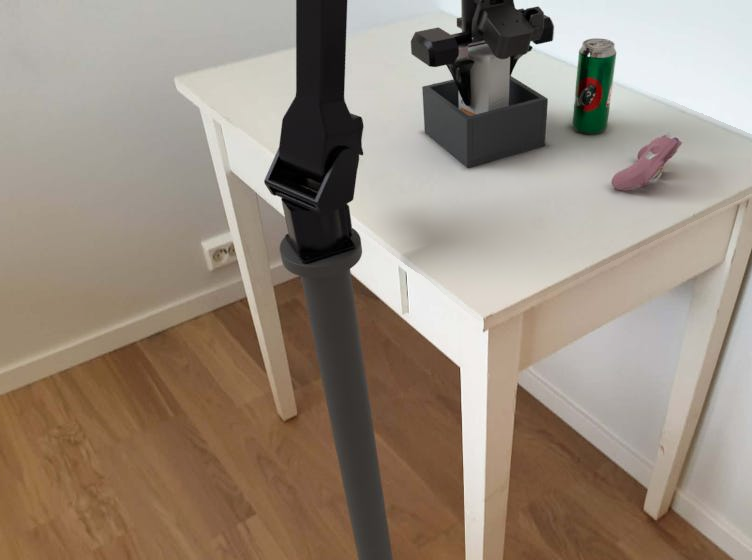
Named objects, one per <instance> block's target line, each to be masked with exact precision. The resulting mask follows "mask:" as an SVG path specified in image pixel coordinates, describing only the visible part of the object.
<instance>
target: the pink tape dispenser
mask: <svg viewBox="0 0 752 560" xmlns="http://www.w3.org/2000/svg"><path fill="white" fill-rule="evenodd" d="M682 144H683V142H682V141H681V140H680V139H679V138H678V137H675V135H670V134H669V132H667V133H666V134H663V135H660V137H657V138H654V139H653V140H651V141H650V142H649V143H648V144H646V145H644V146H643V147H641V148H640V149H639V150H638V152H637V156H636V157H637V161H636V162H635V163H633V164H632V165H630V166H627V167H626V168H624V169H622V170H620V171H618V172H616V173H615V174H614V175H613V176H612V178H611V186H612V188H613V189H615V190H617V191H629V190H633V189H635V188H638V187H640V186H641V187H642V188H645V186H646V185H647V184H649V182H650V180H653V179H654V180H655V181H656V180H658V179H660V178H661V176H662V174H663V171H664V169H663V167H664V166H665V164H666V163H667V162H668V161H669V160H670V159H673V157H674V156H675V155H676V153H678V150H679V148H680V147H681V145H682Z"/></svg>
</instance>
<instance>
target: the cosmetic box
mask: <svg viewBox="0 0 752 560" xmlns="http://www.w3.org/2000/svg"><path fill="white" fill-rule="evenodd" d="M468 58H470V59H472V60H473V61H474V64H473V66H472V68H471V70H470V78H471V103H470V106H466V105H465V104H464V102H463V100H462V98H461V95H460V93H459V91H458V93H459V109H460V110H461V111H462V112H464V113H465V114H467V115H468V116H472V115H476V114H480V113H484V112H488V111H492V110H495V109H499V108H503V107H507V106H509V78H510V57H509V58H507V59H499V58H497V57H495V56H494V54H493V52H492V50H491V49H490V47H489V46H488V45H487V44H483V45H478V46H474V47H469V48H468Z"/></svg>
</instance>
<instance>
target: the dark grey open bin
mask: <svg viewBox="0 0 752 560" xmlns="http://www.w3.org/2000/svg"><path fill="white" fill-rule="evenodd" d="M421 89H422V92H421V93H422V107H423V108H422V110H423V129H424V134H426V135H427V136H428V137H430V138H431V139H432V140H433V141H434V142H435V143H436V144H438V145H439V146H440V147H441V148H442V149H444V150H445V151H446V152H447V153H449V154H450V155H451V156H452V157H453V158H454V159H456V160H457V161H458V162H459V163H461V165H463V166H464V167H465V168H467V169H468V168H472V167H473V168H474V167H476V166H479V165H483V164H487V163H490V162H494V161H496V160H497V161H498V160H500V159H503V158H508V157H511V156H514V155H517V154H522V153H525V152H529V151H532V150H535V149H539V148H542V147H545V146H546V134H547V119H548V103H549V100H548V97H546V96H545V95H543V94H541V93H539V92H538V91H536V90H534V89H533V88H532V87H530V86H528V85H526V84H525V83H523V82H522V81H520V80H519V79H517V78H515V77H513V76H512V75H511V77H510V79H509V106H507V107H503V108H499V109H495V110H492V111H488V112H484V113H480V114H476V115H472V116H468V115H467V114H465V113H464V112H462V111H461V110H460V109H459V93H458V88H457V86H456V84H455V81H454V79H453V78H452V79H449V80H445V81H440V82H436V83H432V84H428V85H424V86H423V85H422V87H421Z"/></svg>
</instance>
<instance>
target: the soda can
mask: <svg viewBox="0 0 752 560" xmlns="http://www.w3.org/2000/svg"><path fill="white" fill-rule="evenodd" d="M615 47H616V46H615V42H614V41H612V40H610V39H607V38H601V37H600V38H599V37H598V38H597V37H596V38H594V37H593V38H588V39H585V40H583V41H582V46H581V47H580V48H579V50H578V58H577V67H576V68H577V69H576V77H575V78H576V80H575V91H574V99H573V100H574V103H573V113H572V123H571V124H572V126H573V128H574V129H575V131H577V132H578V133H581V134H585V135H598V134H601V133H602V132H604V131H605V130H606V129H607V128H608V123H609V115H610V107H611V100H612V92H613V83H614V77H615V67H616V60H617V50H616V48H615Z"/></svg>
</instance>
